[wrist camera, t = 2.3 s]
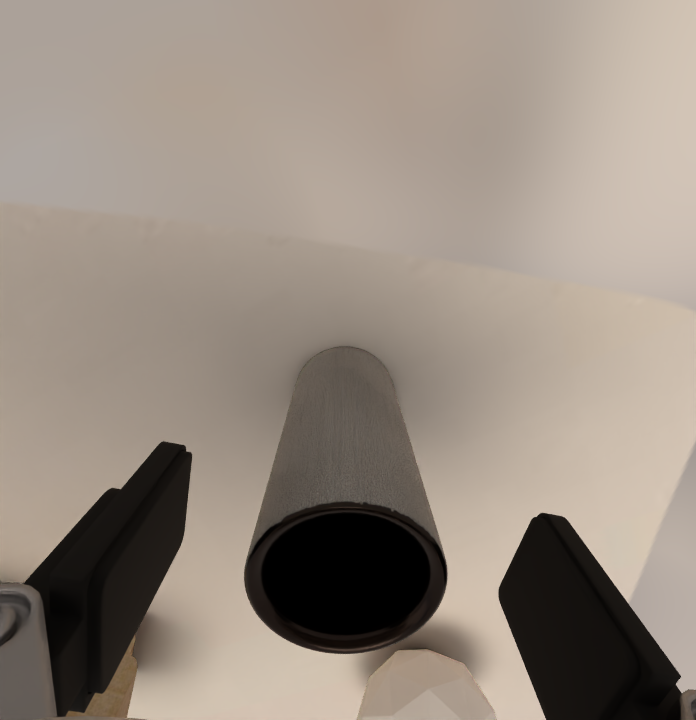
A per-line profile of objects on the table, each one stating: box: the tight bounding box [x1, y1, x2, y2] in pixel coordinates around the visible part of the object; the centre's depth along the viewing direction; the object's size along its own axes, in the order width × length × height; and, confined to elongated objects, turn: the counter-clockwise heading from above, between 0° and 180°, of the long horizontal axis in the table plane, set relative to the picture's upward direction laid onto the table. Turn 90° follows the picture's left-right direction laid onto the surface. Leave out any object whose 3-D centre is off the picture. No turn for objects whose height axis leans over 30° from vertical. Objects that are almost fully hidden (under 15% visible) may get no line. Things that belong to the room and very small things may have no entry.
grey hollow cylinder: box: [244, 347, 447, 654], centre depth 13 cm, size 4×4×10 cm
